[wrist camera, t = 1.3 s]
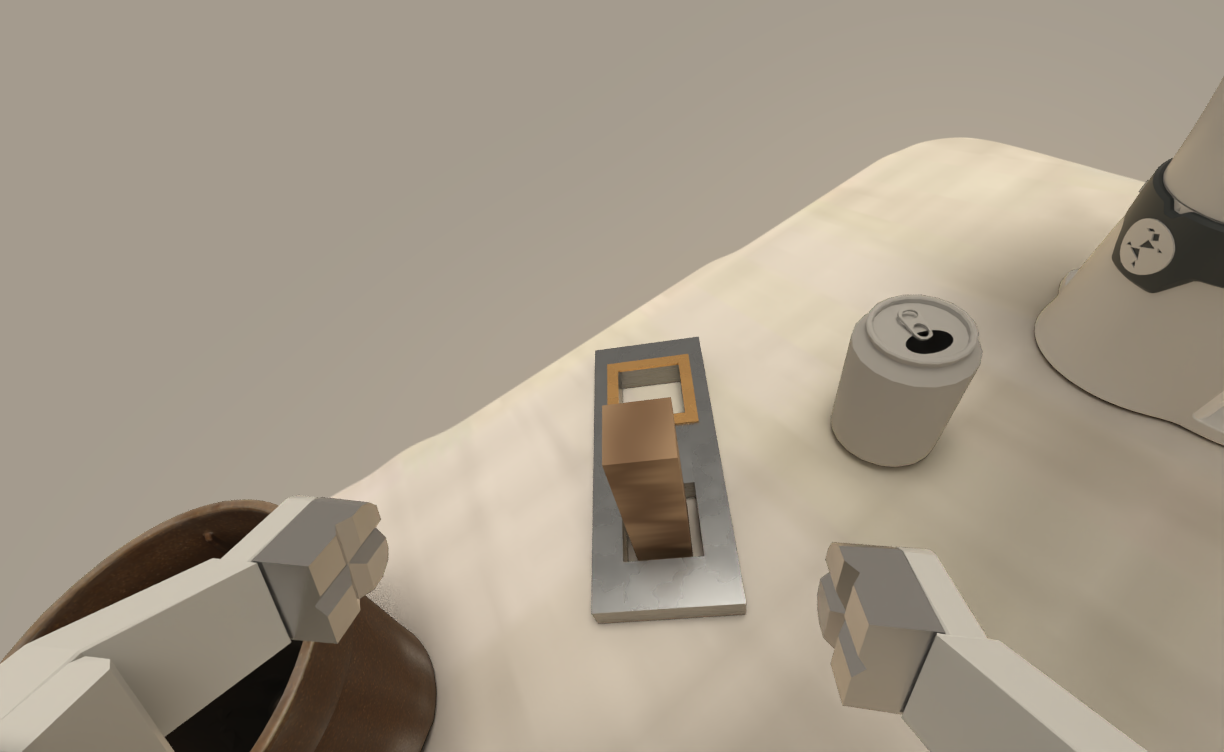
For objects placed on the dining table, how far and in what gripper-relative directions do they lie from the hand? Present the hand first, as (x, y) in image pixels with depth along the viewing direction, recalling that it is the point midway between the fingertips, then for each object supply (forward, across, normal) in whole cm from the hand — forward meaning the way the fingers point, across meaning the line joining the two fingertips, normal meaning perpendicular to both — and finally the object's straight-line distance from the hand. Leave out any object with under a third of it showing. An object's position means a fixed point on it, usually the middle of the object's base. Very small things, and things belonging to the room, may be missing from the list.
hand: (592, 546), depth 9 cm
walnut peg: (+22, -1, +21) cm, 30 cm away
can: (+30, -18, +15) cm, 38 cm away
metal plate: (+28, -1, +18) cm, 33 cm away
